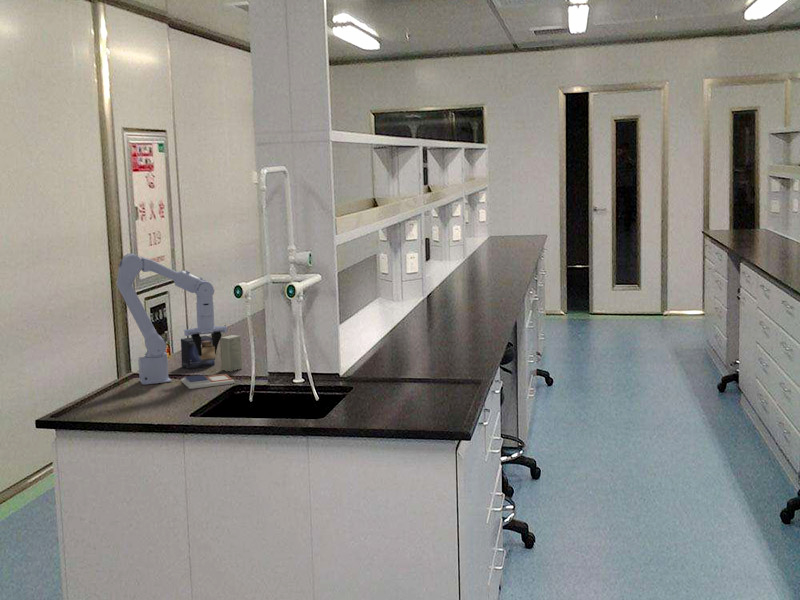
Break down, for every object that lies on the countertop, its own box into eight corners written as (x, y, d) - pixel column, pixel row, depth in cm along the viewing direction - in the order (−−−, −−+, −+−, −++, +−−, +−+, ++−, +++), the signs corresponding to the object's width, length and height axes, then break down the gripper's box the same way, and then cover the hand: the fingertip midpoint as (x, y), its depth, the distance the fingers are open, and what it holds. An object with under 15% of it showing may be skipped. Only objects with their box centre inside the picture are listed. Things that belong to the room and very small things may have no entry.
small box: (189, 369, 309) (187, 341, 307) (181, 366, 314) (179, 338, 312) (215, 365, 315) (214, 337, 314) (207, 362, 320) (206, 335, 319)
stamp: (202, 361, 293) (201, 343, 292) (199, 358, 297) (198, 341, 296) (215, 359, 295) (214, 342, 294) (212, 357, 299) (211, 340, 298)
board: (189, 388, 279) (189, 382, 278) (181, 381, 289) (181, 375, 289) (234, 383, 285) (234, 377, 285) (225, 376, 296) (225, 370, 296)
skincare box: (234, 367, 311) (233, 334, 309) (242, 368, 308) (241, 335, 306) (220, 370, 306) (219, 337, 304) (228, 372, 303) (227, 338, 302)
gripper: (186, 318, 287) (188, 358, 289) (229, 315, 294) (230, 354, 295) (182, 316, 294) (184, 355, 295) (223, 312, 300) (225, 351, 302)
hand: (207, 354), depth 296 cm, fingers closed on stamp, 4 cm apart
